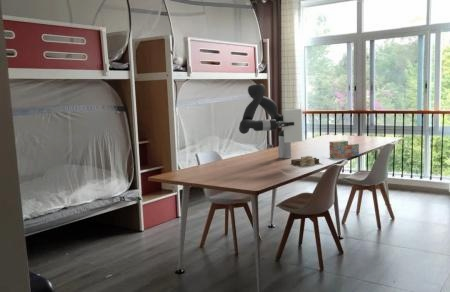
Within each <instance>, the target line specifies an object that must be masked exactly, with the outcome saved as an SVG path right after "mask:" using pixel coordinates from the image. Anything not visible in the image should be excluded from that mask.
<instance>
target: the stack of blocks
mask: <svg viewBox="0 0 450 292" xmlns="http://www.w3.org/2000/svg"><path fill="white" fill-rule="evenodd" d="M359 147H360V145H359V143H355V142H352V143H350V142H349V140H346V139H345V140H344V139H343V140H342V139H341V140H333V141H329V158H332V159H340V158H350V157H357V156H358V157H359V156H360V148H359Z"/></svg>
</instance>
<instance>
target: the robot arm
mask: <svg viewBox="0 0 450 292" xmlns="http://www.w3.org/2000/svg"><path fill="white" fill-rule="evenodd" d="M247 93H248V95H249V97H250V98H251V99H252V100H251V102H249V104H247V106H246V108H245V109H244V112H243V115H242V119H241V121H240V122H239V126H238V130H239V132H240V134H243V135H245V134H247V133H248V132H249V131H250V129H253V131H255V132H261V131H262V132H263V131H264V132H267V131H269V132H270V131H276V130H277V128H284V127H286V126H291V125H294V122H283V114H280V113H278V109H279V108H278V105H277V104H276V102H275V101H274V100H273V99H271V98H270V97H267V96H265V95H266V94H265V93H266V87H265V85H264V84H263V83H256V84H251V85H249V86H248V88H247ZM259 106H260V107H261V108H262V109H263V110H264V111H265V113H267V115H268V116H270V118H271V119H262V120H261V119H260V120H254V117H255V114H256V111H257V109H258V107H259ZM286 123H287V125H286ZM277 149H278V153H277V154H278V159H291V158H292V142H286V143H285V142H284V129H282V130H281V131H279V132H278V147H277Z"/></svg>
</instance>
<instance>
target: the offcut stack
mask: <svg viewBox="0 0 450 292" xmlns="http://www.w3.org/2000/svg"><path fill="white" fill-rule="evenodd" d="M313 158H314V157H313V155H301V156H300V159H301V162H300V165H301V166H300V167H308V166H309V165H311V166H316V165H315V160H314V159H313ZM309 167H310V166H309Z"/></svg>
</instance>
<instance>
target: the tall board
mask: <svg viewBox="0 0 450 292" xmlns="http://www.w3.org/2000/svg"><path fill="white" fill-rule="evenodd" d="M302 114H303V112H302V109H301V108H296V109H295V108H294V109H293V108H291V109H290V108H289V109H282V115H283V122H294V125H291V126H286V127H283V130H284V142H285V143H286V142H291V143H298V142H303V119H302V117H303V116H302ZM286 125H287V123H286Z"/></svg>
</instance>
